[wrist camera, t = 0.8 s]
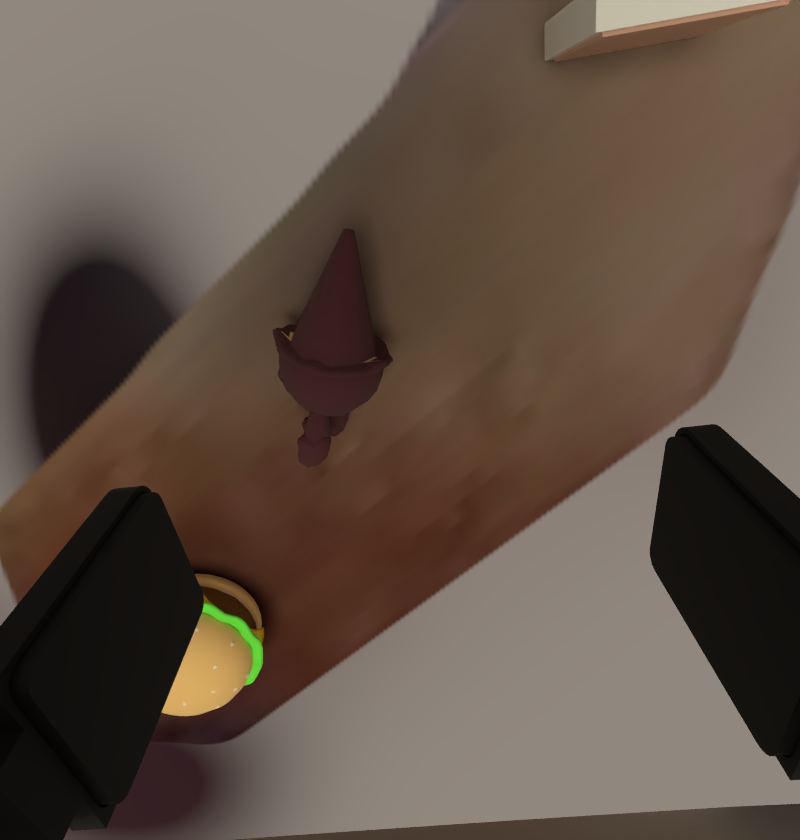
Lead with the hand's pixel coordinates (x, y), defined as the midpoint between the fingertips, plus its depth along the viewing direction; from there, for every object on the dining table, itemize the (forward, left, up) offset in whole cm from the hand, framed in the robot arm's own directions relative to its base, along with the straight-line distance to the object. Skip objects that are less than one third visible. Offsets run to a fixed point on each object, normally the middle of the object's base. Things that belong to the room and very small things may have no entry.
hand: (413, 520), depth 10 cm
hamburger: (+28, -22, -26) cm, 44 cm away
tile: (-10, +13, -25) cm, 30 cm away
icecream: (+5, -5, -26) cm, 27 cm away
